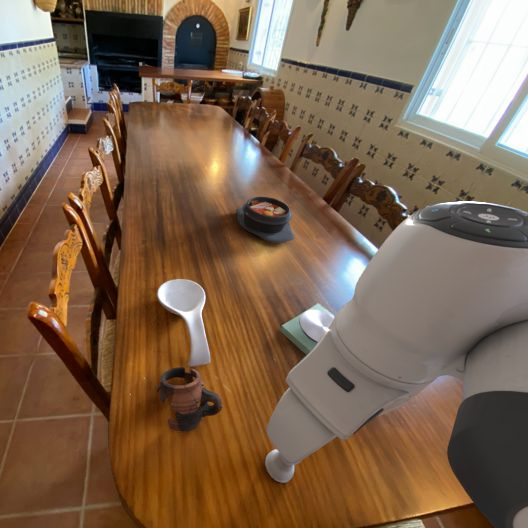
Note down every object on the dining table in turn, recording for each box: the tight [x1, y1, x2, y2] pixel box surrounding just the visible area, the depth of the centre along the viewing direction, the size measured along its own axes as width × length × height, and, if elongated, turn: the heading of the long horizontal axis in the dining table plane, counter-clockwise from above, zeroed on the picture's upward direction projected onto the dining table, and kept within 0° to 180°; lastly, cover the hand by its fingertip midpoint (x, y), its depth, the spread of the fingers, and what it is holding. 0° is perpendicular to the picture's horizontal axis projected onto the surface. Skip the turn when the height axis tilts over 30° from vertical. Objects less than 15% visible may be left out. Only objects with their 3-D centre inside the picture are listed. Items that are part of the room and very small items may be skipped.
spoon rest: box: [156, 278, 211, 368], centre depth 68 cm, size 24×12×7 cm, turn 14°
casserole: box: [235, 195, 296, 244], centre depth 104 cm, size 25×19×8 cm
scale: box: [279, 303, 336, 356], centre depth 67 cm, size 16×14×4 cm
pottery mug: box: [156, 366, 224, 433], centre depth 54 cm, size 12×10×8 cm
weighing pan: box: [299, 310, 335, 343], centre depth 67 cm, size 10×10×1 cm
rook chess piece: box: [264, 448, 303, 484], centre depth 46 cm, size 4×4×8 cm
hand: (318, 418), depth 38 cm, fingers closed
